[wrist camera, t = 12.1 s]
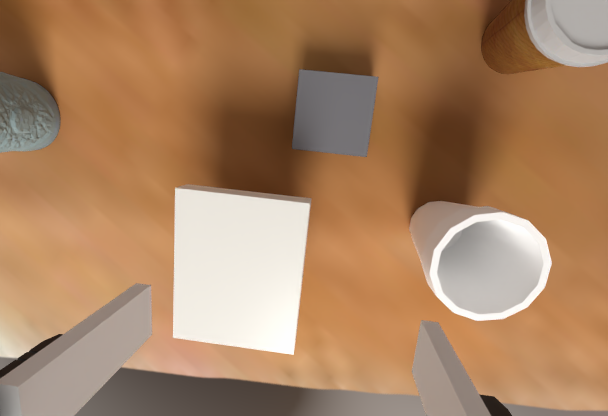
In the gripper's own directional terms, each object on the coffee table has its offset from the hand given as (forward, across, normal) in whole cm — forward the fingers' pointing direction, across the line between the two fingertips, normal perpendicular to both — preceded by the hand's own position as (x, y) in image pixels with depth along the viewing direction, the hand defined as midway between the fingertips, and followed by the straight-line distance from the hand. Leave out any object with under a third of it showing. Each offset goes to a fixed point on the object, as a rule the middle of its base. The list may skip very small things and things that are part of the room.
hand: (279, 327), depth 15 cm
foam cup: (+25, -15, 0) cm, 29 cm away
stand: (+24, -1, -12) cm, 27 cm away
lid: (+16, +6, +4) cm, 17 cm away
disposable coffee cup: (+25, -19, -21) cm, 38 cm away
